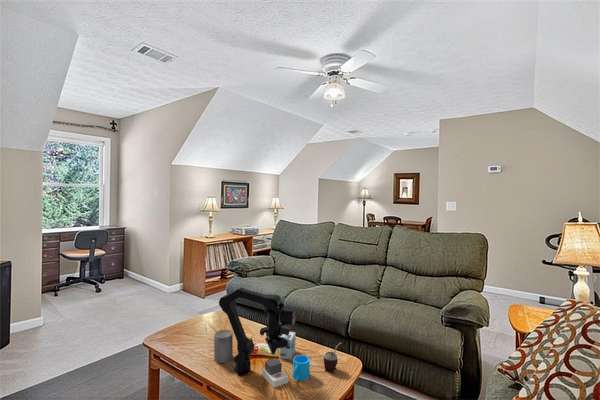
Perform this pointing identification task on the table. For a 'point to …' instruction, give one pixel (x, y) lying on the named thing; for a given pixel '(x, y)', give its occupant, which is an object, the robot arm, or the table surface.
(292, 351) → the light bulb box
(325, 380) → the table surface
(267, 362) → the plug
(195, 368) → the table surface
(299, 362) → the mug
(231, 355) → the pillar candle
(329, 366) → the mate gourd
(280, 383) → the socket
